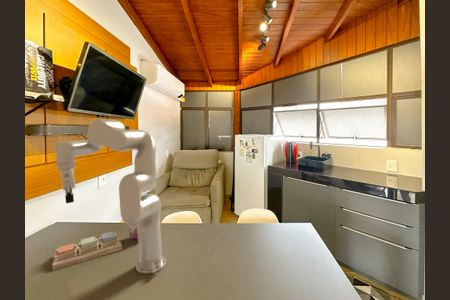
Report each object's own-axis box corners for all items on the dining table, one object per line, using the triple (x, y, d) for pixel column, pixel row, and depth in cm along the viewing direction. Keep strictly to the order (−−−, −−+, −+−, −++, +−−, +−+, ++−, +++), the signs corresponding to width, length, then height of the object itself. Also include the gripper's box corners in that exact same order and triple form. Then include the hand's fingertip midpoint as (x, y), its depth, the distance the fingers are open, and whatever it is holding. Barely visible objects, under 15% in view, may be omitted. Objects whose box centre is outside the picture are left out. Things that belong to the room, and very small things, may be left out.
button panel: (122, 249, 112) (121, 240, 112) (52, 270, 97) (51, 260, 96) (117, 238, 124) (117, 231, 123) (55, 256, 108) (54, 247, 108)
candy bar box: (129, 239, 122) (127, 210, 121) (134, 235, 127) (132, 207, 126) (149, 240, 121) (147, 210, 120) (152, 235, 126) (150, 207, 125)
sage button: (96, 246, 109) (95, 240, 109) (81, 250, 106) (81, 244, 106) (95, 241, 114) (94, 236, 114) (81, 245, 111) (80, 239, 110)
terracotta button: (74, 254, 104) (73, 248, 104) (58, 259, 101) (57, 252, 101) (74, 249, 109) (73, 243, 109) (59, 253, 106) (58, 247, 106)
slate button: (116, 240, 114) (115, 235, 114) (103, 244, 111) (102, 238, 111) (114, 236, 119) (114, 231, 119) (101, 240, 116) (101, 234, 115)
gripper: (75, 166, 106) (79, 204, 107) (75, 163, 118) (78, 197, 120) (55, 168, 102) (59, 207, 103) (57, 165, 114) (61, 200, 115)
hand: (70, 202), depth 111 cm, fingers closed
